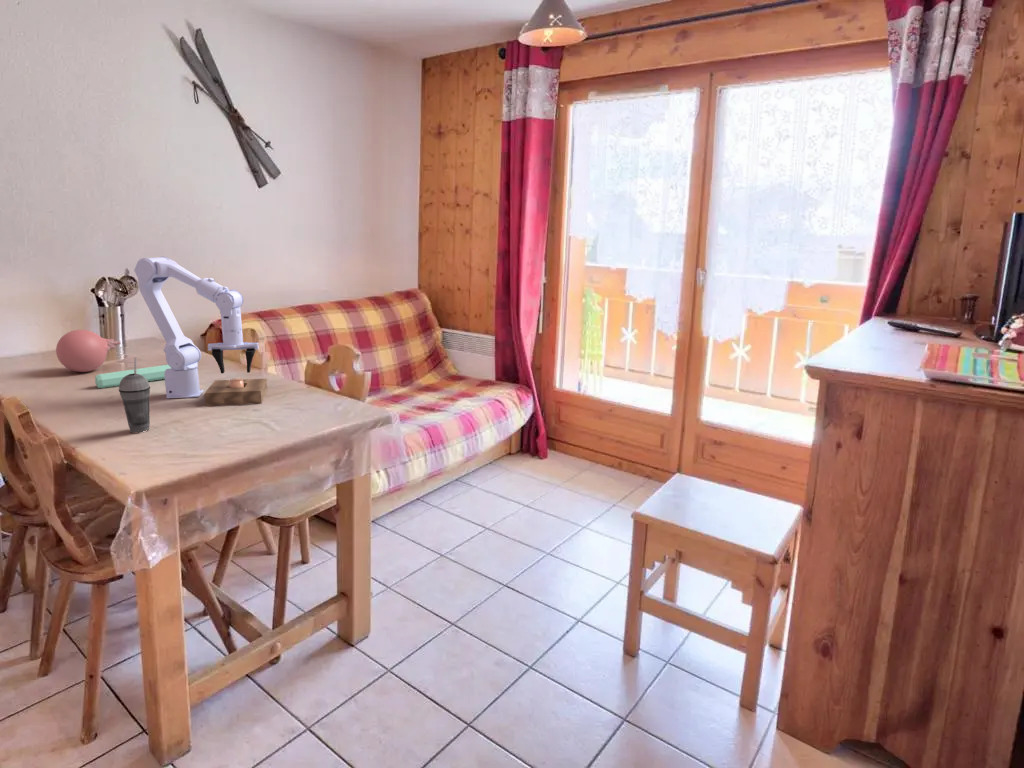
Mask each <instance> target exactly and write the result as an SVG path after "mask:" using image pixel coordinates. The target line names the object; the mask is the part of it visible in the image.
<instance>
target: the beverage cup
mask: <svg viewBox="0 0 1024 768" xmlns="http://www.w3.org/2000/svg"><path fill="white" fill-rule="evenodd" d="M133 359H134V360H133V361H134V362H133V363H134V366H133V367H134V368H133V369H134V374H128V375H126V376H125V377H124V378H123V379H122V380H121V382H120V384H119V386H118V392H119V395H120V398H121V399H122V404H123V408H124V411H125V416H126V420H127V421H126V422H127V425H128V428H129V430H130V431H131V432H143V431H146V430H149V429H150V425H151V424H150V422H151V421H150V420H151V419H150V417H151V416H150V394H151V386H150V384H149V382H148V381H147V379H146V378H145V377H144V376H142V375H140V374H137V369H138V368H137V357H134V358H133ZM130 431H129V432H130ZM149 431H150V430H149ZM131 432H130V433H131ZM146 432H147V431H146ZM143 433H144V432H143Z"/></svg>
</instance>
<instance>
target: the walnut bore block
mask: <svg viewBox="0 0 1024 768" xmlns="http://www.w3.org/2000/svg"><path fill="white" fill-rule="evenodd" d="M242 379H243V383H244V387H239V388H230V381H229V380H230V379H224V380H222V379H220V380H219V379H218V380H217V379H216V380H214V381H213V382H212V383H211V384H210V386H209V387H208V388H207V389H206V390H205V392H204V401H205V406H206V407H207V406H209V407H210V406H227V405H229V406H231V405H233V404H234V405H248V404H247V403H257V404H262V403H263V401H264V399H265V397H266V395H267V393H268V391H267V389H268V387H269V386H268V378H247V379H246V378H245V379H244V378H242ZM268 390H269V389H268ZM266 392H267V393H266ZM265 394H266V395H265ZM264 396H265V397H264ZM263 398H264V399H263ZM234 405H233V406H234Z"/></svg>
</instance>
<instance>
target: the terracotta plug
mask: <svg viewBox="0 0 1024 768" xmlns="http://www.w3.org/2000/svg"><path fill="white" fill-rule="evenodd" d="M243 379H244V378H242V377H236V378H235V377H233V378H231V379H228V380H229V381H230V388H239V387H244V383H243Z"/></svg>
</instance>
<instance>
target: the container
mask: <svg viewBox="0 0 1024 768" xmlns="http://www.w3.org/2000/svg"><path fill="white" fill-rule="evenodd" d="M166 369H171V367H170V366H169V365H168V364H163V365H157V366H155V365H154V366H149V367H141V368H137V374H140V375H142V376H144V377H145V378H146V379H147V381H150V382H155V381H154V380H157V381H162V379H163V380H165V370H166ZM128 374H134V368H133V369H126V370H119V371H113V372H106V373H99V374H97V375H96V376H95V378H94V380H95V381H94V383H95V384H96V387H97V388H99V389H106V387H108V388H114V387H113V386H115V387H119V384H120V382H121V380H122V379H123V378H124V377H125V376H126V375H128Z"/></svg>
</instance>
